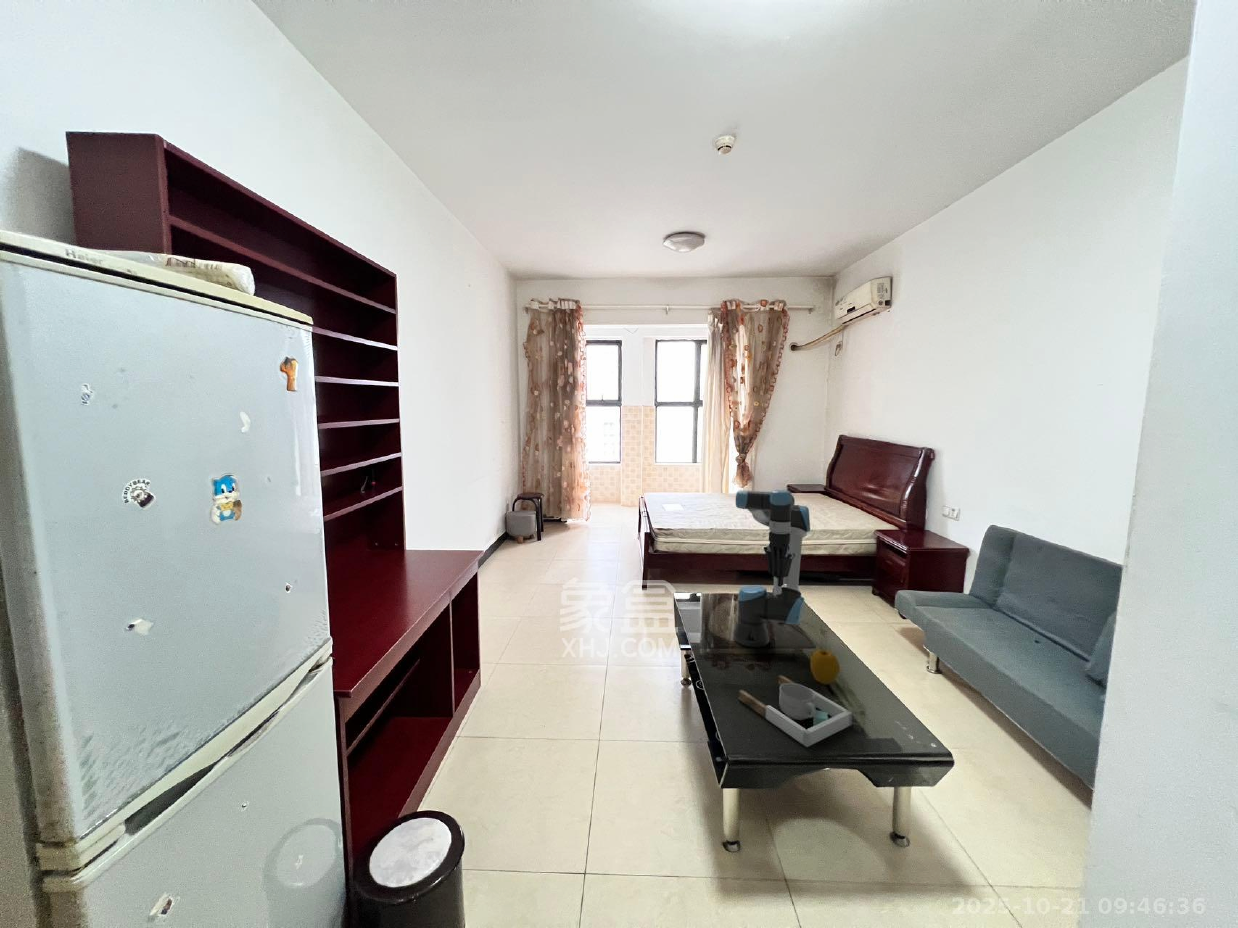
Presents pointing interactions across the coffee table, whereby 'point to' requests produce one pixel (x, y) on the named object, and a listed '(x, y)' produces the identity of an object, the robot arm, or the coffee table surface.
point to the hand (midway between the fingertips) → (777, 593)
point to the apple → (824, 666)
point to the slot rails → (754, 702)
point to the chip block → (820, 717)
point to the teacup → (797, 701)
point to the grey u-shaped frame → (819, 731)
